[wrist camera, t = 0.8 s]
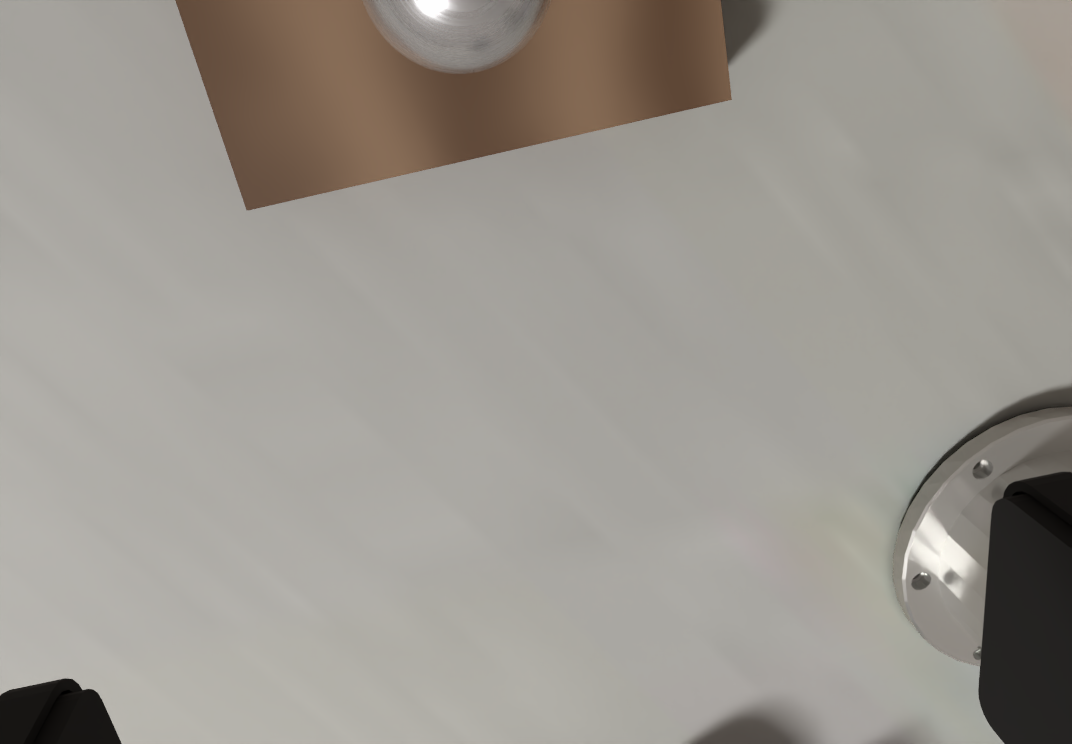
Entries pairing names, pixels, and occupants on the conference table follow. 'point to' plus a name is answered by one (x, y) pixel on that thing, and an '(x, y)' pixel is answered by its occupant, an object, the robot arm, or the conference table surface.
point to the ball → (457, 30)
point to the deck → (433, 87)
